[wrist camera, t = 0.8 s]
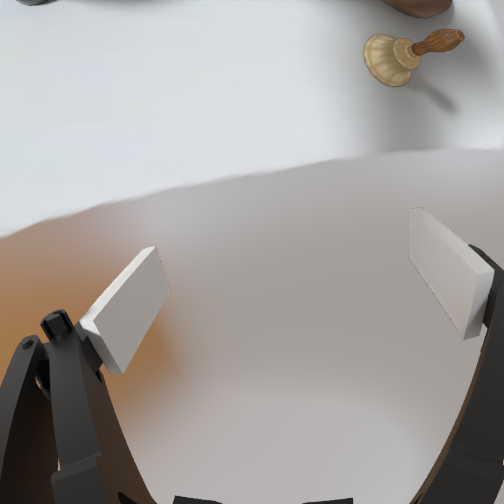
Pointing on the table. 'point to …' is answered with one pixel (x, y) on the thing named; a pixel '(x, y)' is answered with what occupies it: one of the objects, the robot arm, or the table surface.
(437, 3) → the walnut stand
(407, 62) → the hand bell
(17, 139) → the table surface
